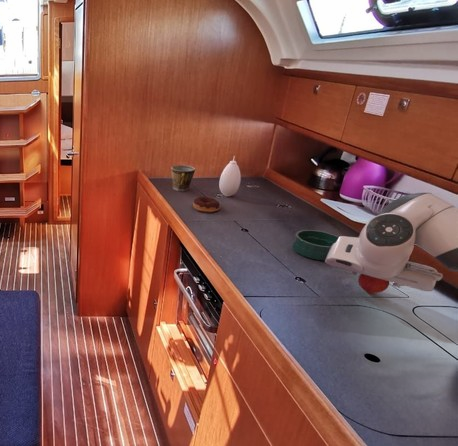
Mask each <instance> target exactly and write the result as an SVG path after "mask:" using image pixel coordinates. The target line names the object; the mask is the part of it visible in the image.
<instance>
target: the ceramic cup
mask: <svg viewBox="0 0 458 446" xmlns="http://www.w3.org/2000/svg"><path fill="white" fill-rule="evenodd" d="M170 169H171V171H170V172H171V177H172V189H173V191H177V192H186V191H189V189H190V186H191V183H192V180H193V179H194V175H195V171H196V168H195V167H193V166H192V165H187V164H179V165H178V164H177V165H172V166H171V168H170Z"/></svg>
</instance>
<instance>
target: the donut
mask: <svg viewBox="0 0 458 446" xmlns="http://www.w3.org/2000/svg"><path fill="white" fill-rule="evenodd" d="M220 206H221V205H220V202H219V201H218V200H217V199H215V198H212V197H207V196H197V197H196V198H195V199H194V200H193V203H192V207H193V208H194V209H195V210H196V211H198V212H200V213H215V212H217V211H219V210H220Z"/></svg>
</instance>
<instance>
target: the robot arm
mask: <svg viewBox="0 0 458 446" xmlns="http://www.w3.org/2000/svg"><path fill="white" fill-rule="evenodd" d="M415 245H416V246H417V247H418V248H420V249H421V250H423V251H424V252H426V253H427V254H429V255H430V256H432V257H433V258H434V259H435V260H436V261H437V262H439V263H440V264H441V265H442V266H444V267H445V269H447V270H448V271H450V272H455V273H458V207H456V206H455V205H453V204H451V203H450V202H448V201H446V200H445V199H443V198H441V197H439V196H438V195H435V194H433V193H432V192H415V193H409V194H405V195H402V196H400V197H398V198H396V199H394V200H393V201H391V202H390V203H388V204H387V205H385V207H383V208H382V209H381V210H379V212H378V213H377V215H375V216H374V217H373V218H371V219H369V221H367V222H366V223H365V225H364V226H363V227H362V229H361V230H360V233H359V235H358V236H357V237H356V236H345V235H340V236H339V238H338V240H337V241H336V243H334V244H333V245H332V246H331V248H330V250H329V252H328V255H327V257H326V260H325V261H324V264H327V265H328V266H331V267H334V268H339V269H342V270H346V271H347V272H349V273H348V274H350V275H353V276H357V275H358V274H359V275H360V274H364V275H367V276H371V277H375V278H378V279H382V280H386V281H389V283H392V287H395V288H399V289H400V288H401V287H409V288H412V289H415V290H417V291H418V290H419V291H422V292H433V291H434V288H435V286H436V284H437V282H439V281H441V280H443V277H444V276H443V273H441V272H438V270H437V268H434V267H432V266H429V265H426V264H422V263H417V262H414V261H409V260H410V256H411V255H412V253H413V250H414V247H415Z"/></svg>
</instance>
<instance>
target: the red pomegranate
mask: <svg viewBox="0 0 458 446" xmlns="http://www.w3.org/2000/svg"><path fill="white" fill-rule="evenodd" d="M357 282H358V286H359V287H360V288H361V289H362V290H363V291H365V292H366V293H367V294H370V295H373V294H378V293H381V292H383V293H384V291H386V290H387V289H389V286H390V282H389V281H386V280H382V279H378V278H375V277H371V276H367V275H364V274H360V273H359V276H358V281H357Z"/></svg>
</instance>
